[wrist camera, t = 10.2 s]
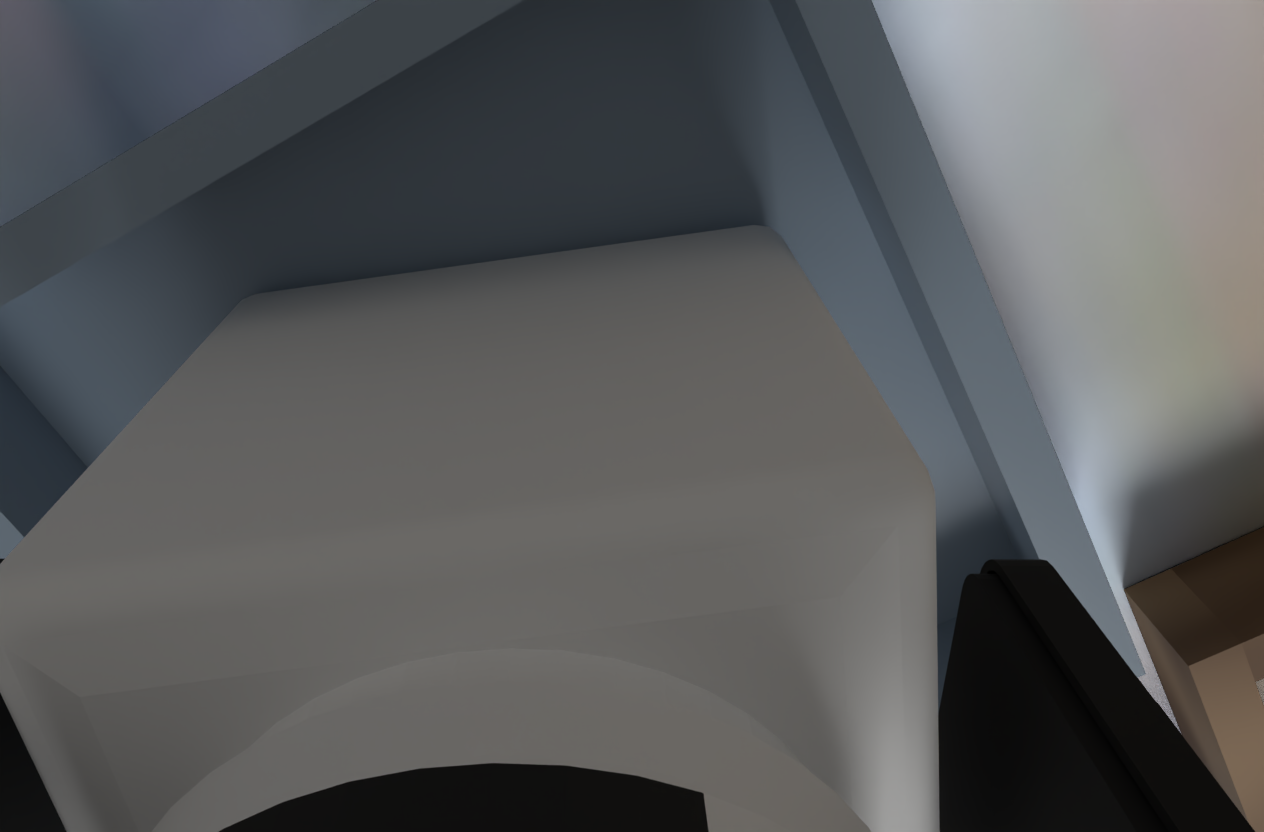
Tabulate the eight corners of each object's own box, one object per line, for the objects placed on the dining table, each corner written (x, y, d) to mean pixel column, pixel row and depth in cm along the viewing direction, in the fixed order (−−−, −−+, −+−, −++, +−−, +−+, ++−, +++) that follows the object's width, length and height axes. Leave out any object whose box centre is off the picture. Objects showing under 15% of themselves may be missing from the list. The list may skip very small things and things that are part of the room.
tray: (-91, 289, 14) (-215, 356, 12) (736, -207, 12) (774, -238, 10) (416, 871, 19) (395, 998, 17) (1070, 576, 17) (1145, 674, 15)
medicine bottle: (363, 716, 17) (-37, 2148, 6) (235, 288, 14) (-1022, 1597, 3) (811, 658, 17) (1229, 2017, 6) (779, 213, 14) (1502, 1297, 3)
